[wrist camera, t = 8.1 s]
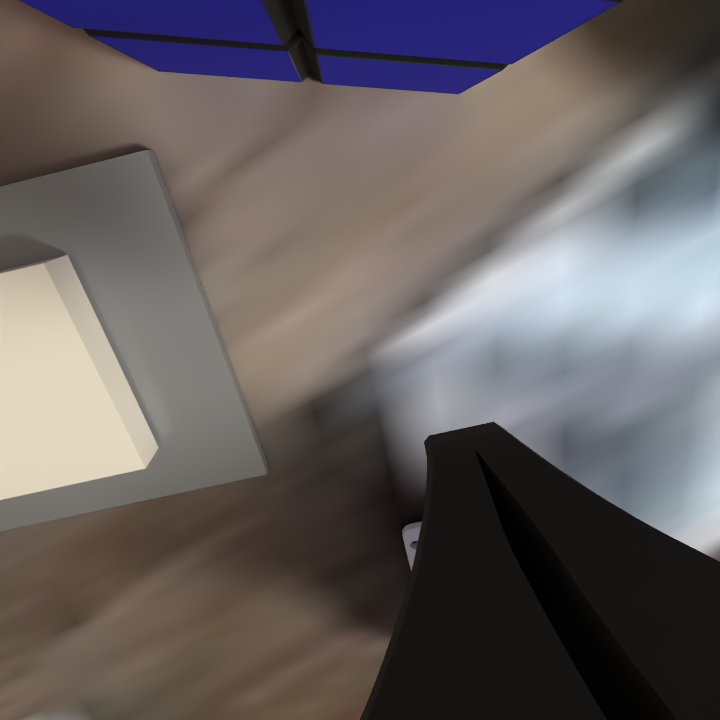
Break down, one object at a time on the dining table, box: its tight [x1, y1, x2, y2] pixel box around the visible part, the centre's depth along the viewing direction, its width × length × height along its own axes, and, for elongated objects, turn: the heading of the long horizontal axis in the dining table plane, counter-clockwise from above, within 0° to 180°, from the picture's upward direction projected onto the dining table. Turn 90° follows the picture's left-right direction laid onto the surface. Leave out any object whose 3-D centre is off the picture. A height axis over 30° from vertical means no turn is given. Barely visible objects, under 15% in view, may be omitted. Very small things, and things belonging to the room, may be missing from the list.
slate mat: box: [0, 150, 269, 531], centre depth 18 cm, size 13×14×1 cm
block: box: [0, 255, 159, 500], centre depth 17 cm, size 8×2×6 cm
